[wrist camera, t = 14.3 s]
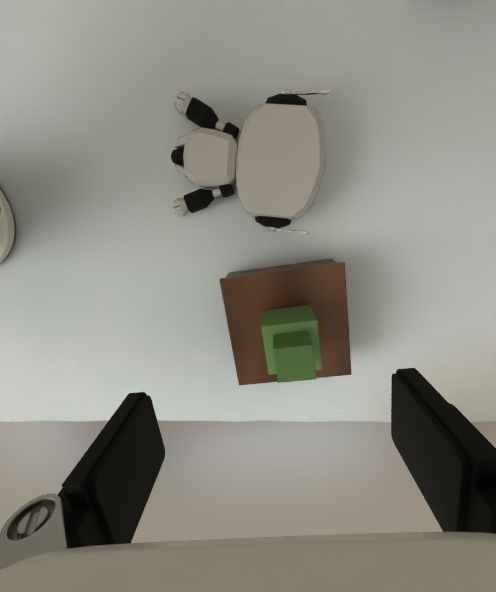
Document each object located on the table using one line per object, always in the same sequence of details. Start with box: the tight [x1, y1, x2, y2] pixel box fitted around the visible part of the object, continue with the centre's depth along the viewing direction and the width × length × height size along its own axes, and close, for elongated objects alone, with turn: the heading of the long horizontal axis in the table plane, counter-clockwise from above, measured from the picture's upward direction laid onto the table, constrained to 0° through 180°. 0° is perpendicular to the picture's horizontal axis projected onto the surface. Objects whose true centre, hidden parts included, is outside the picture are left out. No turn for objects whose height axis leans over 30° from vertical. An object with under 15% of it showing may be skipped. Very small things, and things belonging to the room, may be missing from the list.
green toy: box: [262, 305, 322, 383], centre depth 27 cm, size 5×5×7 cm
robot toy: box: [171, 89, 332, 234], centre depth 28 cm, size 12×4×15 cm
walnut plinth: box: [220, 259, 351, 385], centre depth 32 cm, size 13×13×4 cm
